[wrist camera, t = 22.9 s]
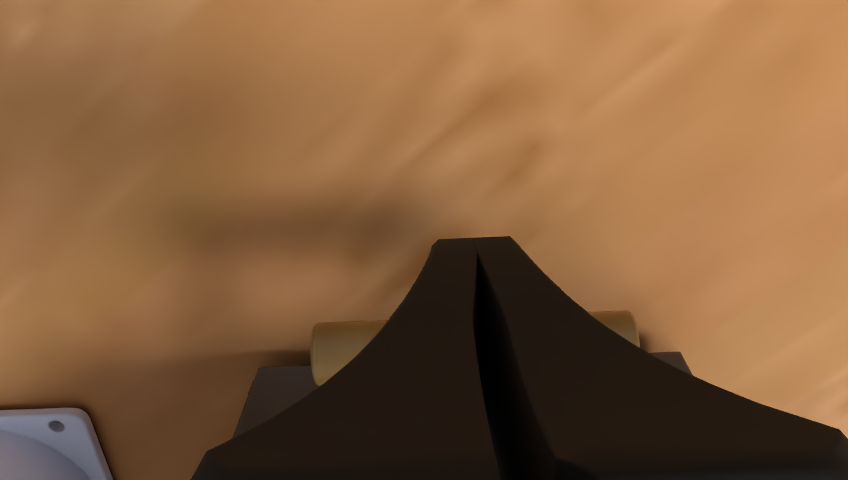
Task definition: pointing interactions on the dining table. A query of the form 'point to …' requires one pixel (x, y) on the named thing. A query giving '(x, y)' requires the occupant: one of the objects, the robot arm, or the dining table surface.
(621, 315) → the drawer
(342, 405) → the robot arm
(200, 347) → the dining table surface
